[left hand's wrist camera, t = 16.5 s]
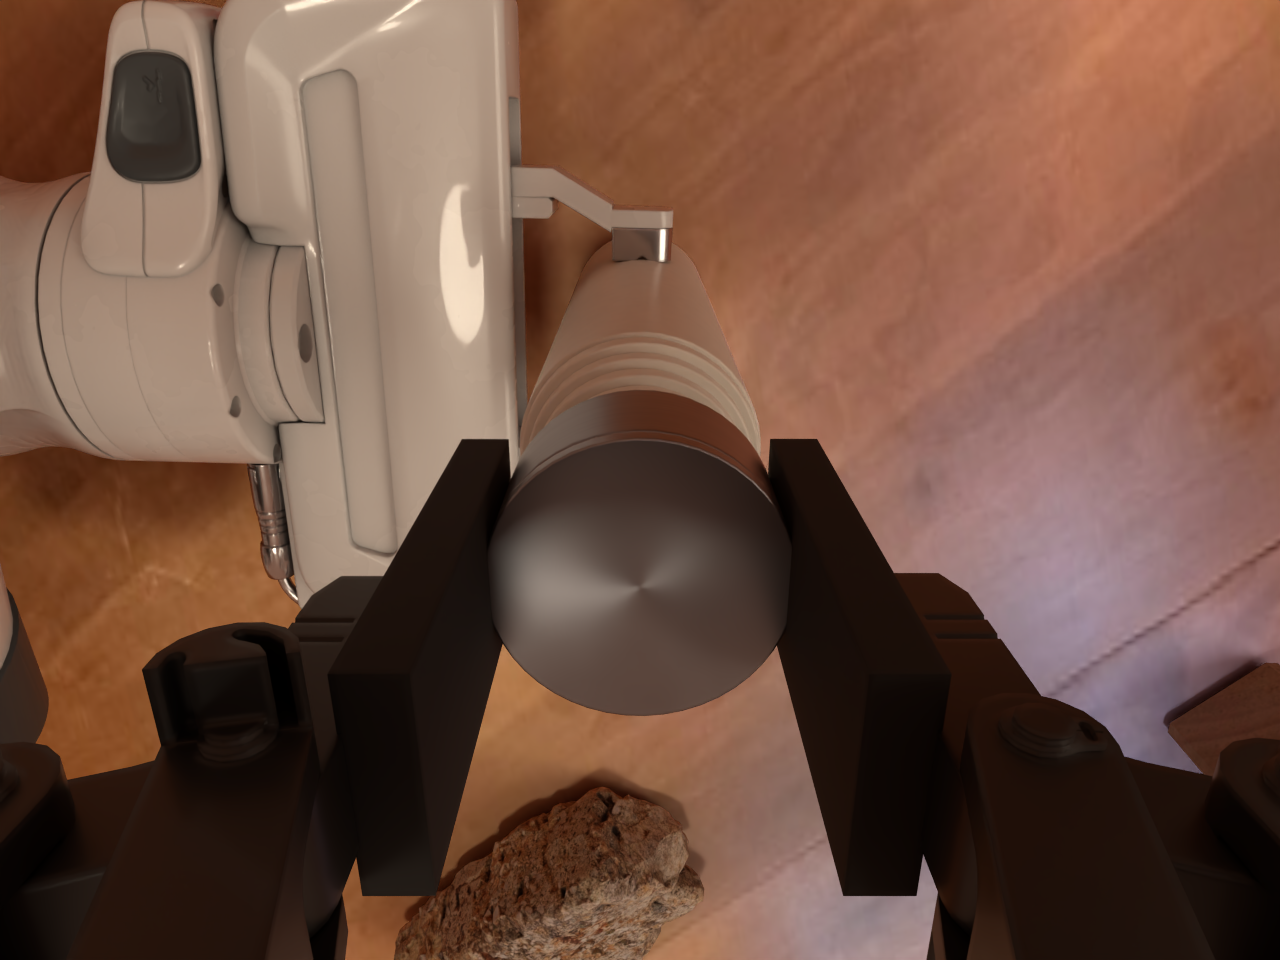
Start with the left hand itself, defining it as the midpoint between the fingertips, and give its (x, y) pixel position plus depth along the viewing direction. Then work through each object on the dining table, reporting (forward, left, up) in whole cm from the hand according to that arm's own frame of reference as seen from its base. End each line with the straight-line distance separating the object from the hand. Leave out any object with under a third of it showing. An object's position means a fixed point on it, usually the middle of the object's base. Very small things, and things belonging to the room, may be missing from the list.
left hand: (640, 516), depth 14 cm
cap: (0, 0, +2) cm, 2 cm away
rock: (-1, +30, -20) cm, 36 cm away
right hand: (-1, 0, -14) cm, 14 cm away
